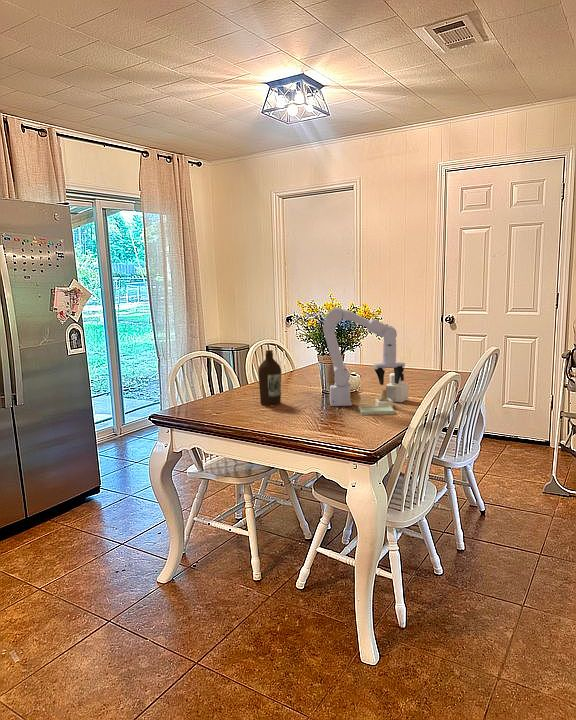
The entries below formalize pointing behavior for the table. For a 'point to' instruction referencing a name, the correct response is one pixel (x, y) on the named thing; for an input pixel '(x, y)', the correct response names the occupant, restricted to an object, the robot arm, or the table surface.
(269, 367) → the olive oil
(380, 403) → the square block with hole
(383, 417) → the table surface
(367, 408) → the tray
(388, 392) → the container
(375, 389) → the table surface
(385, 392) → the dowel
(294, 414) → the table surface
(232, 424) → the table surface
